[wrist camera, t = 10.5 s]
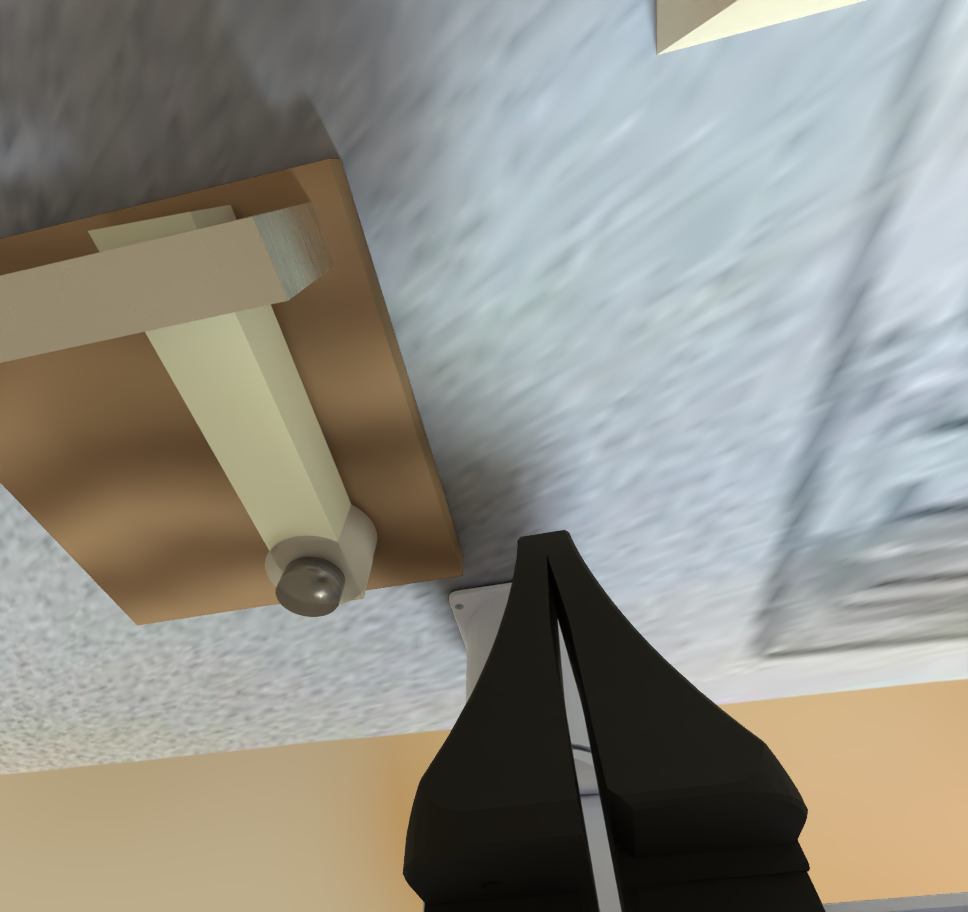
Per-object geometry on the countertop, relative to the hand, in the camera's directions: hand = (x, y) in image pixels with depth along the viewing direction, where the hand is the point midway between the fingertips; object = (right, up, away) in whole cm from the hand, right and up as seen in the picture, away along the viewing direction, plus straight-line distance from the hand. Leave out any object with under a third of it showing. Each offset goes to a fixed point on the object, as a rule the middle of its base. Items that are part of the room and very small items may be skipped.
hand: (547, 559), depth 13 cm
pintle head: (-9, -2, +7) cm, 12 cm away
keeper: (-11, +10, +3) cm, 15 cm away
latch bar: (-10, +4, +6) cm, 13 cm away
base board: (-14, +4, +9) cm, 17 cm away
